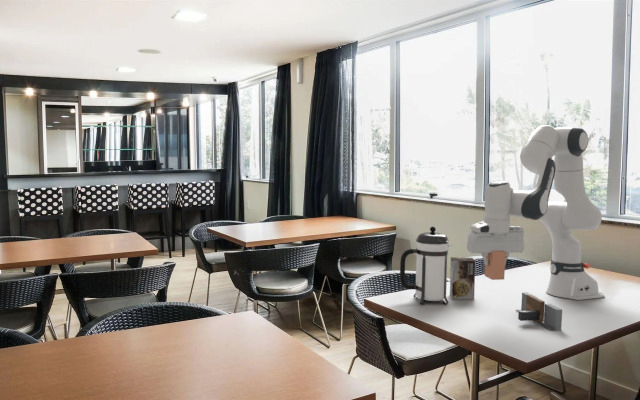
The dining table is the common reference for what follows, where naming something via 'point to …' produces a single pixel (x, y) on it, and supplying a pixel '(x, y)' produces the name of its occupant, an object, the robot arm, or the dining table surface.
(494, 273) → the doorstop block
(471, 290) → the cookie box
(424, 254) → the coffee press
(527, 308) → the sliding door
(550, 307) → the door wall
